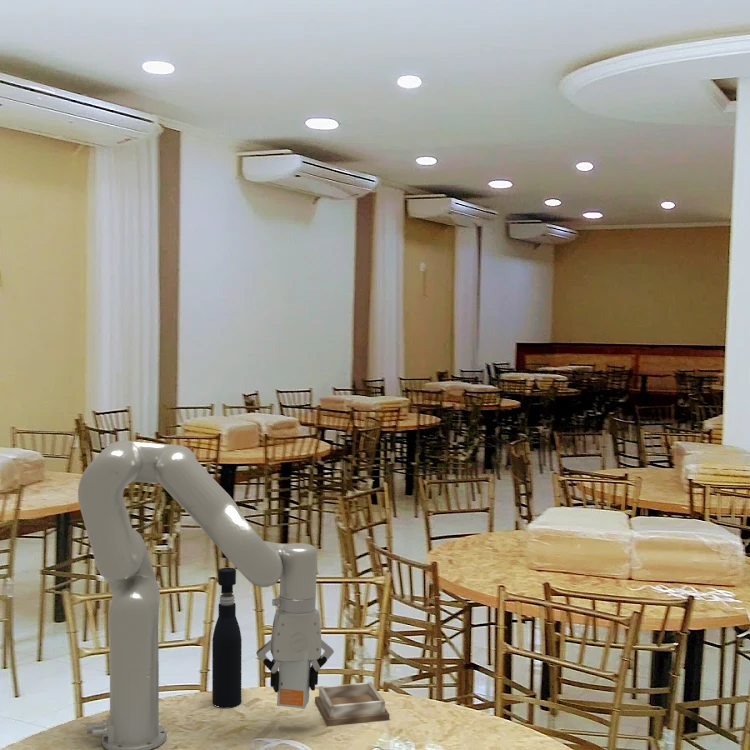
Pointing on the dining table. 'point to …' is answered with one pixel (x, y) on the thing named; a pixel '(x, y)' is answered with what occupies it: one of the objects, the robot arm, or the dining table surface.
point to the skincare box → (294, 683)
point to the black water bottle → (226, 646)
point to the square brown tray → (351, 704)
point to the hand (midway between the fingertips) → (293, 688)
